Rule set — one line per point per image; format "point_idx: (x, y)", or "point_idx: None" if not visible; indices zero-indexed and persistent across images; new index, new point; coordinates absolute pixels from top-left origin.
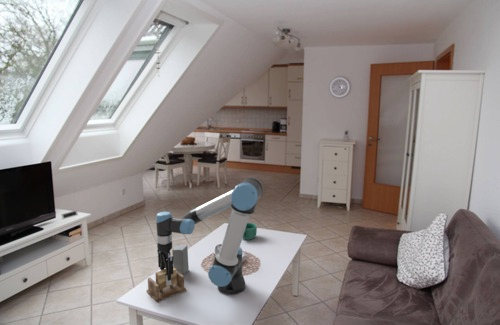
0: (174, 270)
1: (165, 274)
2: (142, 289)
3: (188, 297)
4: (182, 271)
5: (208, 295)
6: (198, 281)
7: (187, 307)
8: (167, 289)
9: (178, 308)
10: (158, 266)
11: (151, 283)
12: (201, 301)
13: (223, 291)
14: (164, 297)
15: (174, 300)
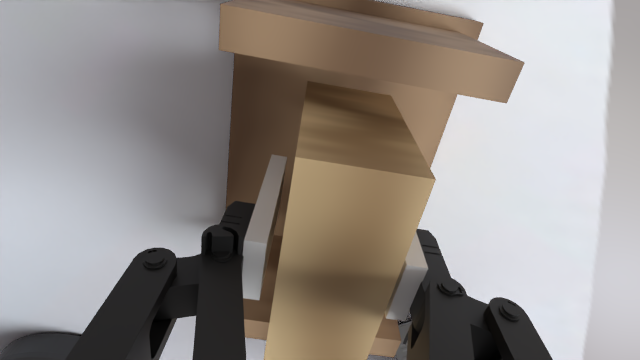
0: (265, 350)
1: (229, 234)
2: (550, 21)
3: (131, 196)
4: (402, 354)
5: (75, 280)
6: None
7: (4, 110)
8: None
9: (26, 52)
10: (517, 305)
11: (391, 33)
12: (30, 217)
13: (33, 344)
14: (234, 66)
15: (160, 105)
